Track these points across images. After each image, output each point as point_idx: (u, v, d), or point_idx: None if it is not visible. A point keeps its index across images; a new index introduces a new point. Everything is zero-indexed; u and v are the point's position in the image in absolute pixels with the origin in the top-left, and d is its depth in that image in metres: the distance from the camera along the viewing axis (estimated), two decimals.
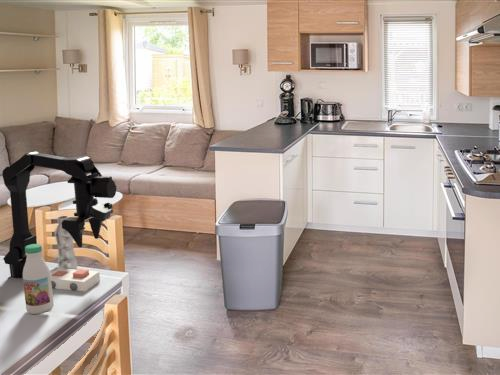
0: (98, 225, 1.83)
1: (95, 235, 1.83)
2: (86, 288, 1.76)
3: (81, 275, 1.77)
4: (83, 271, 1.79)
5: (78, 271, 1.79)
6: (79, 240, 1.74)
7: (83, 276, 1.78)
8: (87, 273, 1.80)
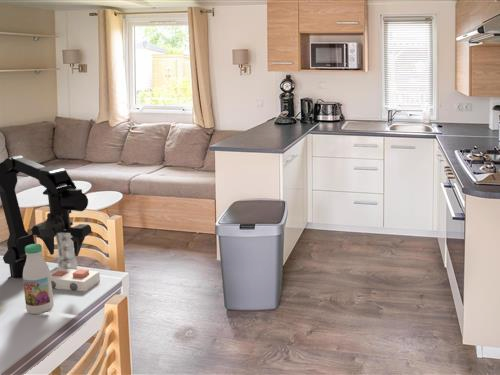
0: None
1: None
2: (86, 288, 1.76)
3: (81, 275, 1.77)
4: (83, 271, 1.79)
5: (78, 271, 1.79)
6: None
7: (83, 276, 1.78)
8: (87, 273, 1.80)
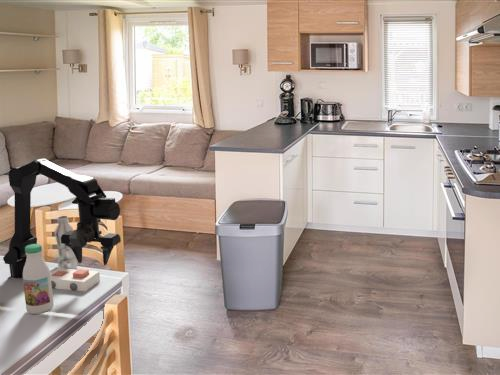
0: None
1: None
2: (86, 288, 1.76)
3: (81, 275, 1.77)
4: (83, 271, 1.79)
5: (78, 271, 1.79)
6: None
7: (83, 276, 1.78)
8: (87, 273, 1.80)
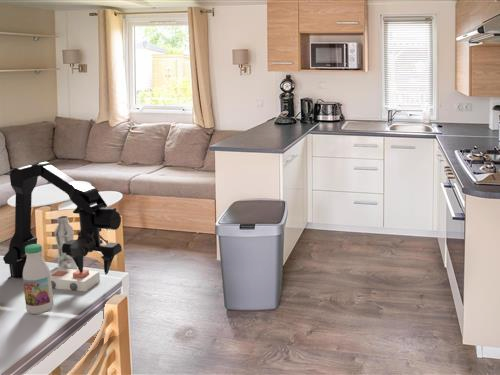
0: None
1: None
2: (86, 288, 1.76)
3: (81, 275, 1.77)
4: (83, 271, 1.79)
5: (78, 271, 1.79)
6: None
7: (83, 276, 1.78)
8: (87, 273, 1.80)
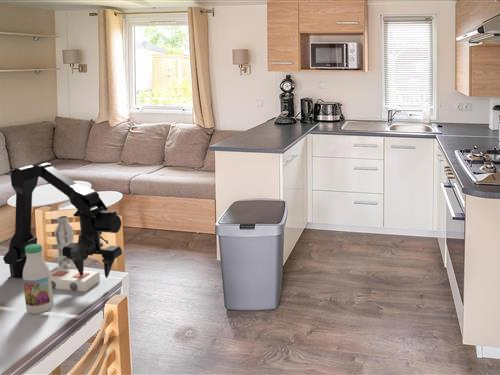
0: None
1: None
2: (86, 288, 1.76)
3: None
4: (83, 274, 1.80)
5: (78, 274, 1.80)
6: None
7: None
8: None
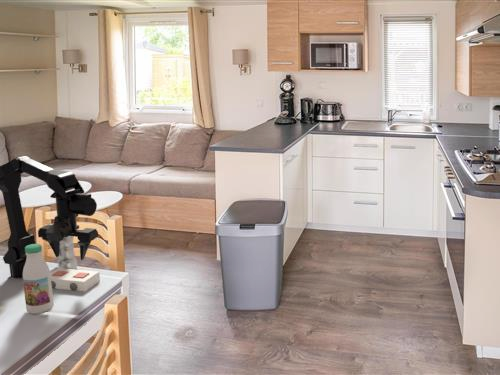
0: None
1: None
2: (86, 288, 1.76)
3: None
4: (83, 274, 1.80)
5: (78, 274, 1.80)
6: None
7: None
8: None
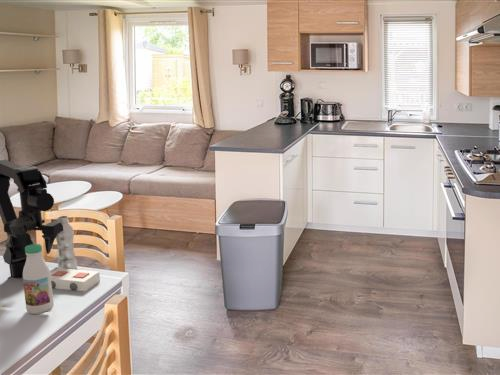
0: None
1: None
2: (86, 288, 1.76)
3: None
4: (83, 274, 1.80)
5: (78, 274, 1.80)
6: None
7: None
8: None
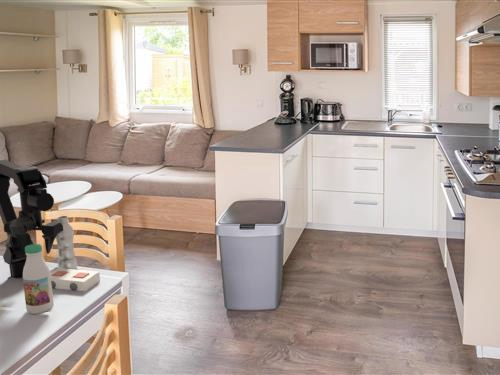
0: None
1: None
2: (86, 288, 1.76)
3: None
4: (83, 274, 1.80)
5: (78, 274, 1.80)
6: None
7: None
8: None
